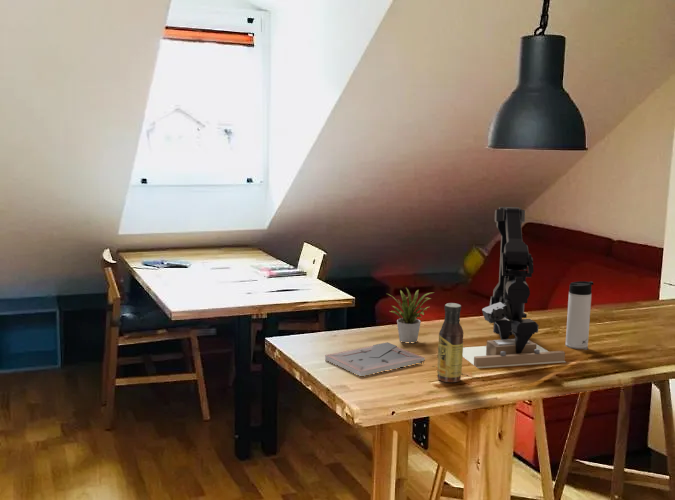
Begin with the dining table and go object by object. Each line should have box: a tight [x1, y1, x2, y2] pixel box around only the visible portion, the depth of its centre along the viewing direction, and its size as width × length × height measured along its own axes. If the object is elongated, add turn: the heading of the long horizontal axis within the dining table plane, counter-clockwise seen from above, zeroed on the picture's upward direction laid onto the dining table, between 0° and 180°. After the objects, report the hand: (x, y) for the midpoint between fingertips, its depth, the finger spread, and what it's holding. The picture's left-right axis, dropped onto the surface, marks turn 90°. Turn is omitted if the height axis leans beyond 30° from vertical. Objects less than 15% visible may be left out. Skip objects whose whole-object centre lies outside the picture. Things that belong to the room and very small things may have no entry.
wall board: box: [462, 343, 567, 369], centre depth 218 cm, size 18×26×4 cm
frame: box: [485, 338, 537, 356], centre depth 216 cm, size 6×12×4 cm, turn 104°
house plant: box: [387, 287, 435, 343], centre depth 231 cm, size 14×14×16 cm
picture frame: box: [324, 342, 426, 377], centre depth 213 cm, size 16×2×22 cm
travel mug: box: [565, 280, 594, 351], centre depth 226 cm, size 6×7×20 cm
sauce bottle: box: [436, 302, 464, 383], centre depth 197 cm, size 7×6×20 cm
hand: (511, 349), depth 216 cm, fingers open, 8 cm apart
